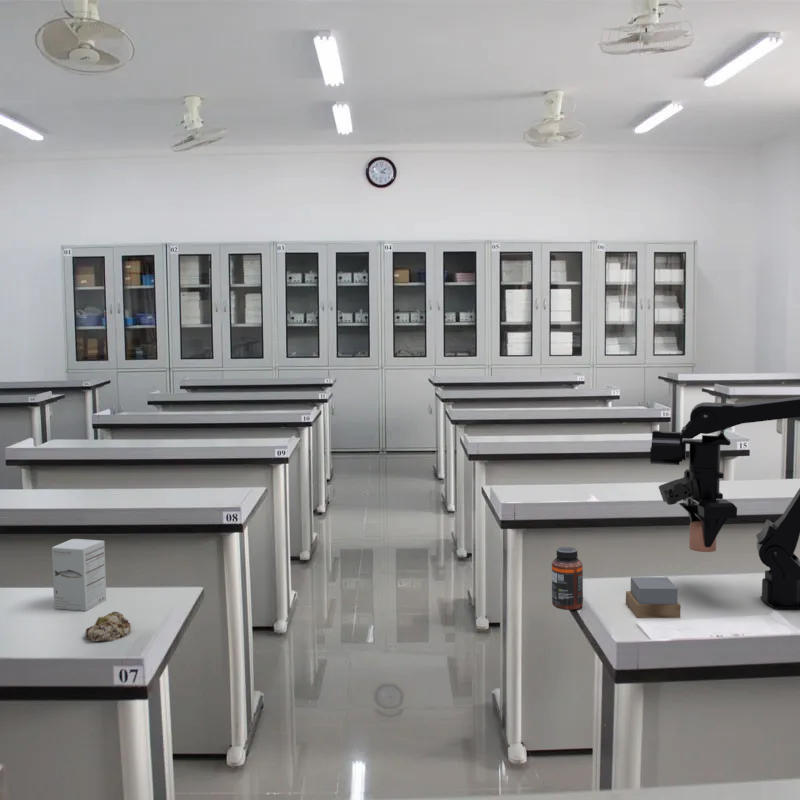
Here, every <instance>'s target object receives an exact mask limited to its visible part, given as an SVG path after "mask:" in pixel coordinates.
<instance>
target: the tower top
mask: <svg viewBox="0 0 800 800" xmlns="http://www.w3.org/2000/svg"><path fill="white" fill-rule="evenodd" d="M630 591H631V593H632V595H633V596H634V598H635V599H636V600H637V602H638V603H639V604H669V605H677V602H678V593H679V592H678V591H679V589H678V587H677V586H676V585H675V584H674V583H673V582H672V581H671V579H670V578H668V576H667V577H666V576H665V577H664V576H663V577H661V576H659V577H656V576H655V577H653V576H652V577H651V576H649V577H647V576H645V577H644V576H643V577H642V576H641V577H640V576H631V577H630Z"/></svg>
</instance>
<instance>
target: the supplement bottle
mask: <svg viewBox="0 0 800 800" xmlns="http://www.w3.org/2000/svg"><path fill="white" fill-rule="evenodd" d="M578 556H579V555H578V549H577V548H575V547H572V546H561V547H560V546H559V547H557V548H556V558H554V559H553V560H552V562H551V601H552V602H551V603H552V606H553V607H555V608H556V609H558V610H564V611H573V610H579V609H580V608H582V607H583V605H584V602H583V601H584V591H583V590H584V586H583V585H584V581H583V580H584V579H583V578H584V577H583V576H584V574H583V573H584V571H583V569H584V568H583V562H582V561H581V560H580V559H579V557H578Z"/></svg>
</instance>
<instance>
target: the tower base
mask: <svg viewBox="0 0 800 800" xmlns="http://www.w3.org/2000/svg"><path fill="white" fill-rule="evenodd" d="M625 605H626V606H627V607H628V609H629V610H630V611H631V613H633V615H634V616H635V617H636V619H678V618H679V619H680V618H681V607H682V605H681V604H680V602H678V601H677V605H669V604H639V603H638V602H637V600H636V599H635V598H634V596H633V595H632V593H631V590H626V591H625Z"/></svg>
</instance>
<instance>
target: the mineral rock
mask: <svg viewBox="0 0 800 800" xmlns="http://www.w3.org/2000/svg"><path fill="white" fill-rule="evenodd" d="M131 629H132V627H131V623H130V622H129V620H128V619H127V618H126V617H125V616H124V614H123V613H120V611H112V612H110V613H108V614H106V615H104V616H98V618H97V619H96V621H95V624H93V625H92V626H90V627H87V628H86V629H85V639H87V640H90V641H91V642H101V641H103V642H105V641H106V642H114V641H116V640H119V639H122V638H123V637H127V636H129V633H131V632H132V630H131Z"/></svg>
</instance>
